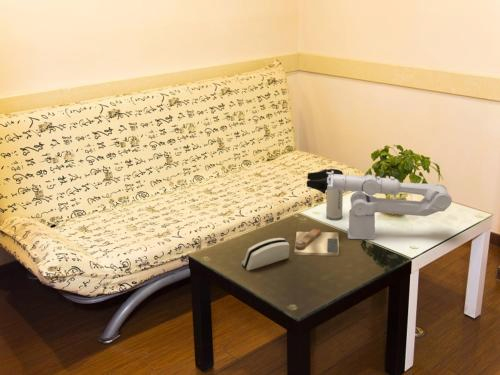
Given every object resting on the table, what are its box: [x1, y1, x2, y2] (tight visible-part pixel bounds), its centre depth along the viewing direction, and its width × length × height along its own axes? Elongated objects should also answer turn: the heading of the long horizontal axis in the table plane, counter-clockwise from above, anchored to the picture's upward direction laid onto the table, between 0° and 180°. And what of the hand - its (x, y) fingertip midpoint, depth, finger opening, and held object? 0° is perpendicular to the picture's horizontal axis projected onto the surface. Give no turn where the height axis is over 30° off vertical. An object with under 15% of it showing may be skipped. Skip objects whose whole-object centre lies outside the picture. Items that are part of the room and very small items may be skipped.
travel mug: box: [325, 168, 344, 221], centre depth 231 cm, size 6×7×20 cm
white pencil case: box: [240, 237, 291, 271], centre depth 199 cm, size 17×5×10 cm, turn 121°
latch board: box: [293, 231, 340, 257], centre depth 212 cm, size 16×17×1 cm
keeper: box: [327, 238, 338, 253], centre depth 206 cm, size 4×5×3 cm
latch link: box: [294, 228, 322, 250], centre depth 212 cm, size 15×4×2 cm, turn 148°
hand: (307, 179), depth 214 cm, fingers open, 7 cm apart
